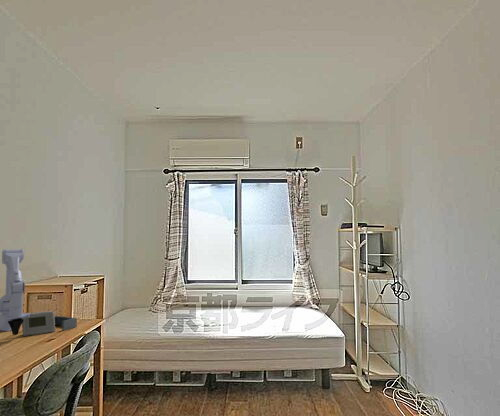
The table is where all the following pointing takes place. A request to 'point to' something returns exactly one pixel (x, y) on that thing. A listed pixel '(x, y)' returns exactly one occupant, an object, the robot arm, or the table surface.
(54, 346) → the table surface
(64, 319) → the end cap
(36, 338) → the table surface
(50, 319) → the digital clock
